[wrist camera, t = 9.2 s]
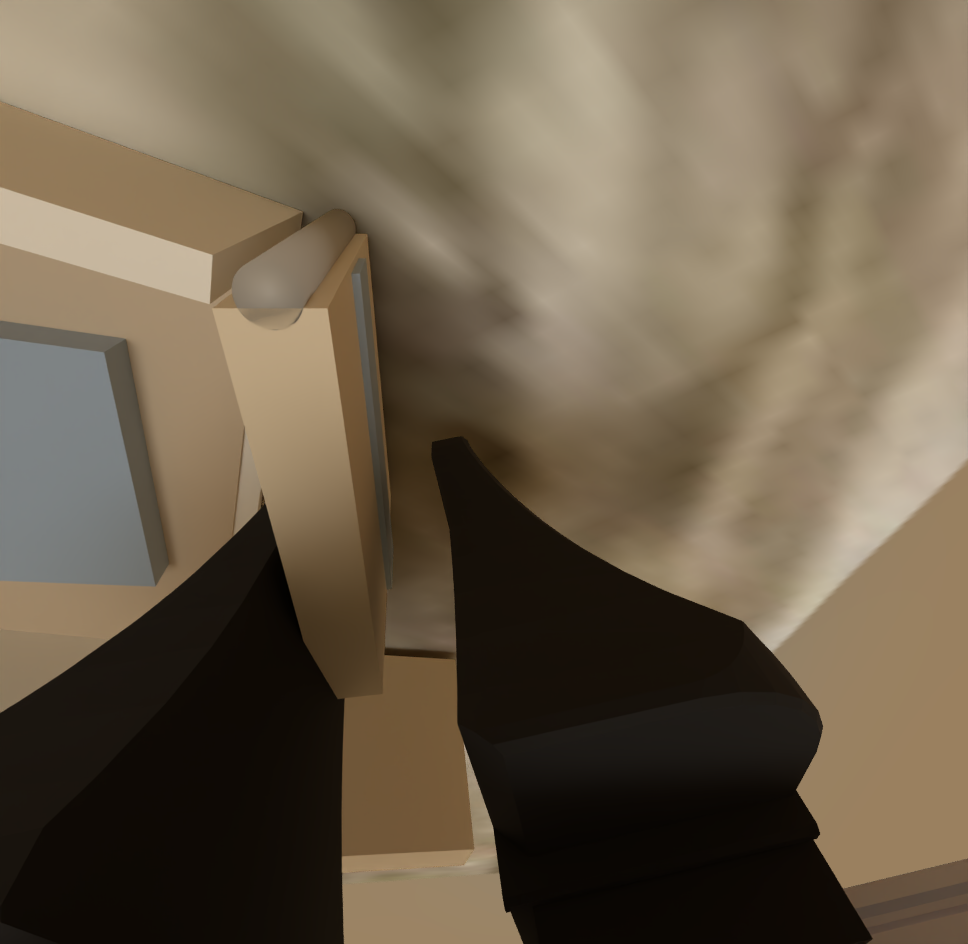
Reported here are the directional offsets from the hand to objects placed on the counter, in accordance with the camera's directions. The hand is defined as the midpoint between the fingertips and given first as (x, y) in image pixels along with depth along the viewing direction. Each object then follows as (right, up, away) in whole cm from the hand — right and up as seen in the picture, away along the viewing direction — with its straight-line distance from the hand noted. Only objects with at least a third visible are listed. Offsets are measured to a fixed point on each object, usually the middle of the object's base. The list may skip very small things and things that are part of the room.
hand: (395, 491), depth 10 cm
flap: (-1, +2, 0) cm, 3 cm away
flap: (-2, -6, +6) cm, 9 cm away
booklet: (-8, +1, 0) cm, 8 cm away
